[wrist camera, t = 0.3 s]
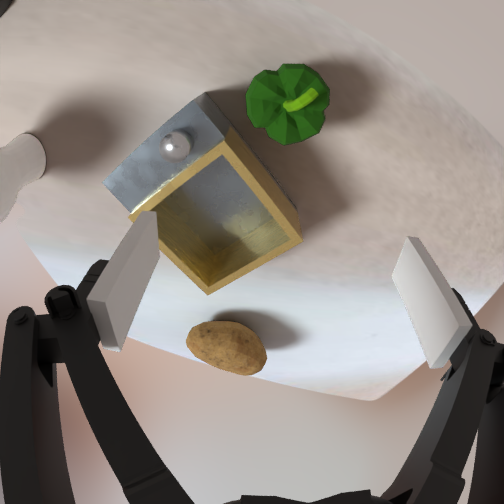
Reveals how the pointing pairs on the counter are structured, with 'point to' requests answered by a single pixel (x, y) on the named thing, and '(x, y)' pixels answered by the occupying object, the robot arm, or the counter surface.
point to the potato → (227, 346)
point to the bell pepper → (288, 103)
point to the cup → (19, 169)
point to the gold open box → (207, 197)
